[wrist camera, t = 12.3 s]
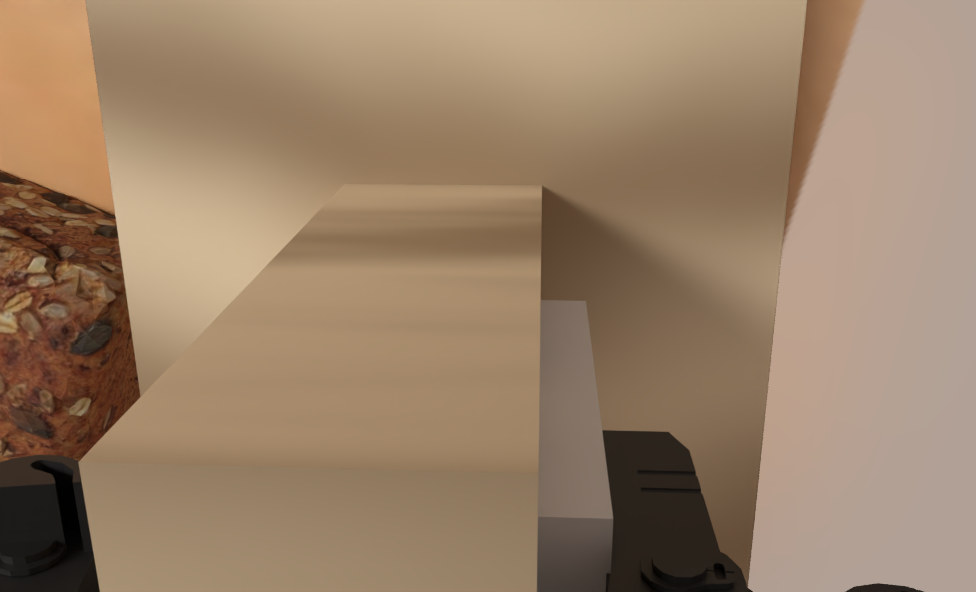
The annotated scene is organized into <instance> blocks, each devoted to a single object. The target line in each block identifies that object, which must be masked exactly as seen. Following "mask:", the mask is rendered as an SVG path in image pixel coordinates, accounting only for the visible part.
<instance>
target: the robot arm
mask: <svg viewBox="0 0 976 592" xmlns="http://www.w3.org/2000/svg"><path fill="white" fill-rule="evenodd" d="M78 462H79V461H78V460H75V459H71V458H68V457H65V456H62V455H33V456H26V457H19V458H12V459H9V460H5V461H2V462H0V592H100V589H99V583H98V577H97V571H96V565H95V559H94V553H93V547H92V541H91V535H90V529H89V523H88V517H87V511H86V505H85V499H84V493H83V487H82V481H81V475H80V469H79V463H78ZM537 592H753V591H751V590H750V589H748V588H747V584H746V581H745V578H744V575H743V573H742V570H741V568H740V567H739V566H738V565H737V564H736V563H735V562H734V561H733V560H732V559H730V558H729V557H728V556H727V555H726V554H724V553H722V552H720V549H719V546H718V543H717V539H716V536H715V533H714V530H713V526H712V523H711V520H710V516H709V513H708V510H707V507H706V503H705V500H704V497H703V494H701V487H700V484H699V480H698V477H697V476H696V470H695V467H694V464H693V461H692V457H691V454H690V451H689V450H688V449H687V448H686V447H685V446H684V445H683V444H682V443H680V442H679V441H678V440H677V439H676V438H675V437H674V436H673V435H671V434H670V433H669V432H658V431H615V430H602V425H601V417H600V409H599V401H598V393H597V385H596V377H595V369H594V361H593V353H592V345H591V337H590V329H589V321H588V314H587V306H586V301H568V300H541V306H540V389H539V471H538V542H537ZM846 592H923V591H920V590H916V589H914V588H909V587H905V586H897V585H888V584H871V585H863V586H856V587H853V588H851V589H850V590H848V591H846Z"/></svg>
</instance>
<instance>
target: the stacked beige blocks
mask: <svg viewBox="0 0 976 592" xmlns="http://www.w3.org/2000/svg"><path fill="white" fill-rule="evenodd" d="M85 1H86V8H87V15H88V22H89V29H90V37H91V44H92V51H93V58H94V65H95V72H96V80H97V87H98V94H99V101H100V108H101V116H102V123H103V130H104V137H105V144H106V152H107V159H108V166H109V173H110V180H111V188H112V195H113V202H114V209H115V216H116V224H117V231H118V238H119V245H120V252H121V260H122V267H123V274H124V281H125V288H126V296H127V303H128V310H129V317H130V324H131V332H132V339H133V346H134V353H135V360H136V368H137V375H138V382H139V389H140V396H141V397H140V398H139V399H138V400H137V401H136V402H135V403H134V404H133V405H132V407H131V408H130V409H129V410H128V411H127V412H126V413H125V414H124V415H123V416H122V417H121V418H120V419H119V420H118V421H117V422H116V423H115V424H114V425H113V426H112V427H111V428H110V430H109V431H108V432H107V433H106V434H105V435H104V436H103V437H102V438H101V439H100V440H99V441H98V442H97V443H96V444H95V445H94V446H93V447H92V448H91V449H90V450H89V451H88V453H87V454H86V455H85V456H84V457H83V458H82V459H81V460H80V461H79V462H78V463H79V469H80V475H81V481H82V487H83V493H84V499H85V505H86V511H87V517H88V523H89V529H90V535H91V541H92V547H93V553H94V559H95V565H96V571H97V577H98V583H99V589H100V592H537V542H538V471H539V389H540V306H541V300H568V301H586V306H587V314H588V321H589V329H590V337H591V345H592V353H593V361H594V369H595V377H596V385H597V393H598V401H599V409H600V417H601V425H602V430H615V431H658V432H669V433H670V434H671V435H673V436H674V437H675V438H676V439H677V440H678V441H679V442H680V443H682V444H683V445H684V446H685V447H686V448H687V449H688V450H689V451H690V454H691V457H692V461H693V464H694V467H695V470H696V476H697V477H698V480H699V484H700V487H701V494H703V497H704V500H705V503H706V507H707V510H708V513H709V516H710V520H711V523H712V526H713V530H714V533H715V536H716V539H717V543H718V546H719V549H720V552H722V553H724V554H726V555H727V556H728V557H729V558H730V559H732V560H733V561H734V562H735V563H736V564H737V565H738V566H739V567H740V568H741V570H742V573H743V575H744V578H745V581H746V584H747V588H748V579H749V569H750V559H751V549H752V540H753V529H754V520H755V510H756V500H757V490H758V480H759V471H760V460H761V451H762V441H763V431H764V421H765V411H766V400H767V392H768V381H769V372H770V362H771V351H772V341H773V333H774V321H775V313H776V302H777V293H778V283H779V272H780V264H781V254H782V244H783V234H784V224H785V214H786V204H787V195H788V185H789V175H790V165H791V155H792V145H793V135H794V126H795V116H796V106H797V96H798V86H799V76H800V66H801V56H802V47H803V37H804V27H805V17H806V7H807V0H85Z"/></svg>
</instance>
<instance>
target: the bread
mask: <svg viewBox="0 0 976 592" xmlns="http://www.w3.org/2000/svg"><path fill="white" fill-rule="evenodd" d="M140 397H141V396H140V389H139V382H138V375H137V368H136V360H135V353H134V346H133V339H132V332H131V324H130V317H129V310H128V303H127V296H126V288H125V281H124V274H123V267H122V260H121V252H120V245H119V238H118V231H117V224H116V217H114V216H111V215H108V214H106V213H103V212H101V211H99V210H97V209H95V208H93V207H92V206H89V205H87V204H85V203H82V202H80V201H78V200H72V199H70V198H68V197H67V196H66V195H65V194H60V193H54V192H52V191H50V190H48V189H46V188H43V187H40V186H38V185H35V184H33V183H31V182H29V181H27V180H25V179H18V178H16V177H13V176H11V175H9V174H7V173H5V172H2V171H0V462H2V461H5V460H9V459H12V458H19V457H26V456H33V455H62V456H65V457H68V458H71V459H75V460H78V461H80V460H81V459H82V458H83V457H84V456H85V455H86V454H87V453H88V451H89V450H90V449H91V448H92V447H93V446H94V445H95V444H96V443H97V442H98V441H99V440H100V439H101V438H102V437H103V436H104V435H105V434H106V433H107V432H108V431H109V430H110V428H111V427H112V426H113V425H114V424H115V423H116V422H117V421H118V420H119V419H120V418H121V417H122V416H123V415H124V414H125V413H126V412H127V411H128V410H129V409H130V408H131V407H132V405H133V404H134V403H135V402H136V401H137V400H138V399H139V398H140Z"/></svg>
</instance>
